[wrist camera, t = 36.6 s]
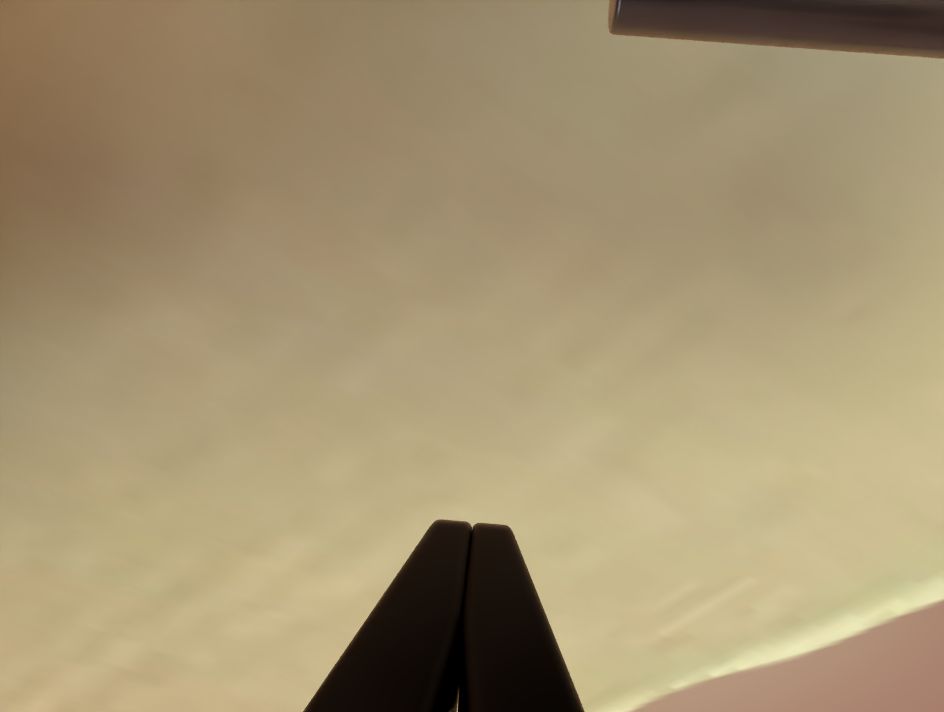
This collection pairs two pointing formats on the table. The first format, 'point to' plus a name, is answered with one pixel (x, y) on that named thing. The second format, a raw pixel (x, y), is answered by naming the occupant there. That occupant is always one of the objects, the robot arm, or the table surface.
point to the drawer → (791, 23)
